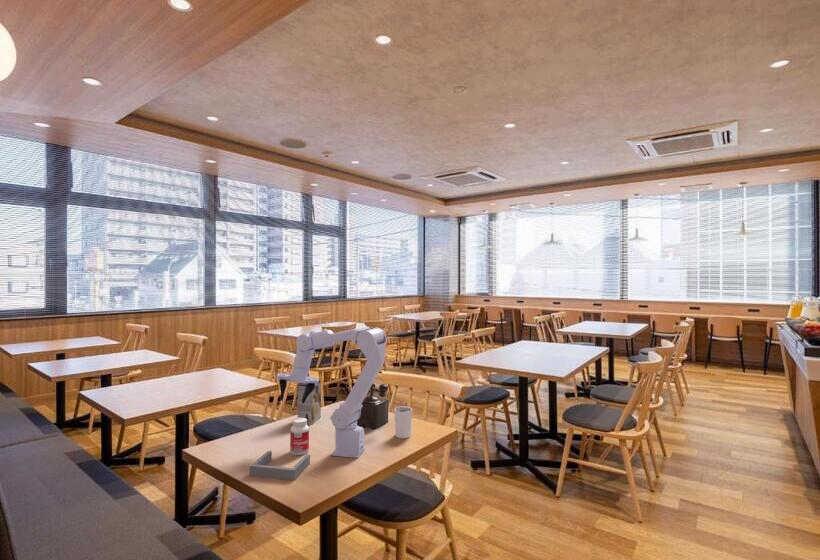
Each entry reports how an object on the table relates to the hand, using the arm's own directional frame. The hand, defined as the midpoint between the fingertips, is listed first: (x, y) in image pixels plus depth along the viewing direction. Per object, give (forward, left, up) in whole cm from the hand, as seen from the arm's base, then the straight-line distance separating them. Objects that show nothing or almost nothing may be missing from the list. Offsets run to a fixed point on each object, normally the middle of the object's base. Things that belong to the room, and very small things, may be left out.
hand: (292, 400), depth 157 cm
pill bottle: (-6, +7, -15) cm, 18 cm away
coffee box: (+3, -23, -15) cm, 27 cm away
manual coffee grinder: (-25, -24, -15) cm, 37 cm away
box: (-6, +20, -15) cm, 26 cm away
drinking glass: (-38, -15, -15) cm, 43 cm away
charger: (-10, -34, -15) cm, 39 cm away
